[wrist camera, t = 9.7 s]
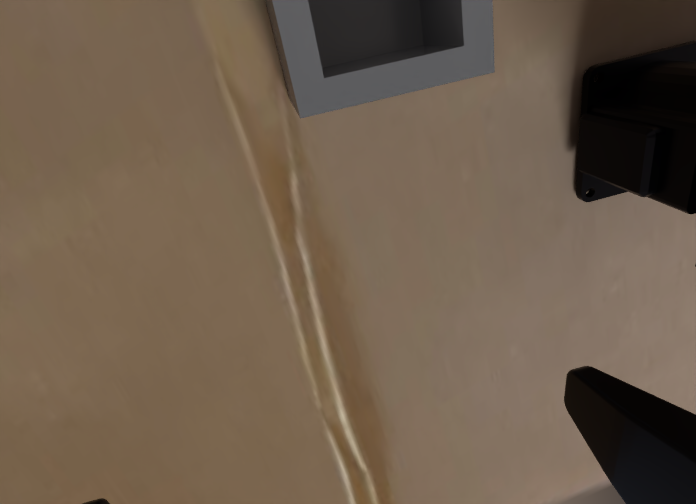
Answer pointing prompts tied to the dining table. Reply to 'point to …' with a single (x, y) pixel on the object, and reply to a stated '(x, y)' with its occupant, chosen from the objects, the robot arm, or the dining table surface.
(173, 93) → the dining table surface
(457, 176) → the dining table surface
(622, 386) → the robot arm
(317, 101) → the block with square hole
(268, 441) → the dining table surface
